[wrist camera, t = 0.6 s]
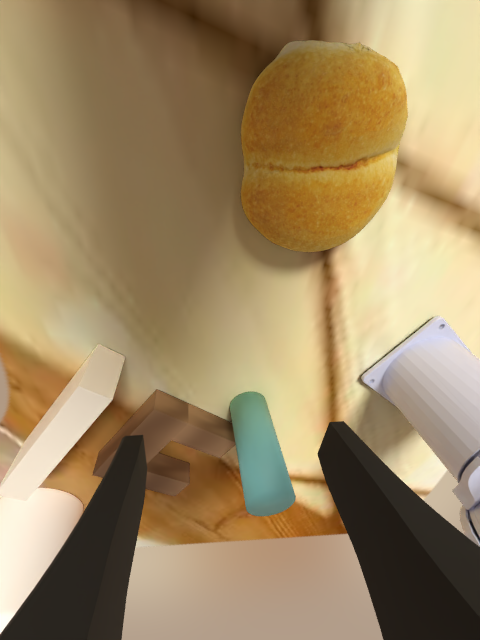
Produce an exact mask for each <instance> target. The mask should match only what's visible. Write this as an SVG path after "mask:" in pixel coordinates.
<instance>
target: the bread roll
mask: <svg viewBox="0 0 480 640" xmlns="http://www.w3.org/2000/svg"><path fill="white" fill-rule="evenodd" d="M407 117H408V113H407V95H406V88H405V85H404V82H403V79H402V76H401V74H400V72H399V69H398V67H397V66H396V65H395V64H394V63H393V62H391V61H389V60H388V59H387V58H386V57H384V56H382V55H380V54H378V53H377V52H375V51H374V50H371V49H370V47H366V46H365V45H361V44H360V43H356V44H347V43H338V42H324V41H315V40H309V41H293V42H289V43H288V44H286V45H285V46H284V47H283V49H282V50H281V51H280V53H279V54H278V55H277V57H276V58H275V60H274V61H272V62H271V63H270V64H269V65H268V66H267V67H266V68H265V69H264V70H263V72H262V73H261V74H260V75H259V76H258V78H257V79H256V81H255V82H254V84H253V86H252V88H251V91H250V94H249V96H248V100H247V103H246V107H245V111H244V114H243V119H242V125H241V141H242V151H243V156H244V176H243V181H242V188H241V201H242V207H243V210H244V212H245V215H246V217H247V218H248V220H249V221H250V223H251V224H252V225H253V226H254V227H255V228H256V229H257V230H258V231H259V232H260V233H261V234H262V235H263V236H264V237H266V238H267V239H268V240H270V241H271V242H273V243H274V244H277V245H279V246H282V247H285V248H287V249H290V250H294V251H302V252H317V251H324V250H327V249H331V248H333V247H336V246H339V245H341V244H343V243H345V242H346V241H348V240H349V239H351V238H352V237H354V236H355V235H356V234H357V233H359V232H360V231H361V230H362V229H363V228H364V227H365V226H366V225H367V224H368V222H369V221H370V220H371V219H372V218H373V217H374V215H375V214H376V213H377V212H378V210H379V209H380V208H381V206H382V205H383V203H384V201H385V200H386V198H387V196H388V194H389V192H390V190H391V187H392V184H393V179H394V176H395V170H396V163H397V155H398V149H399V145H400V140H401V137H402V135H403V132H404V129H405V125H406V120H407Z"/></svg>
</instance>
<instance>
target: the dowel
mask: <svg viewBox="0 0 480 640" xmlns="http://www.w3.org/2000/svg"><path fill="white" fill-rule="evenodd" d="M230 412H231V418H232V425H233V431H234V437H235V443H236V449H237V455H238V461H239V468H240V474H241V480H242V486H243V492H244V498H245V505H246V510H247V512H248V513H250V514H252V515H255V516H269V515H274V514H277V513H280V512H282V511H284V510H286V509H287V508H289V507H290V506H291V505H292V504H293V503H294V501H295V494H294V490H293V487H292V484H291V481H290V477H289V474H288V471H287V468H286V464H285V461H284V458H283V455H282V452H281V448H280V445H279V442H278V439H277V435H276V432H275V429H274V426H273V423H272V419H271V416H270V413H269V410H268V406H267V403H266V400H265V398H264V396H263V395H261V394H260V393H257V392H245V393H242V394H240V395H238V396H236V397H235V398H234V399H233V400H232V401H231V404H230Z"/></svg>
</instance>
